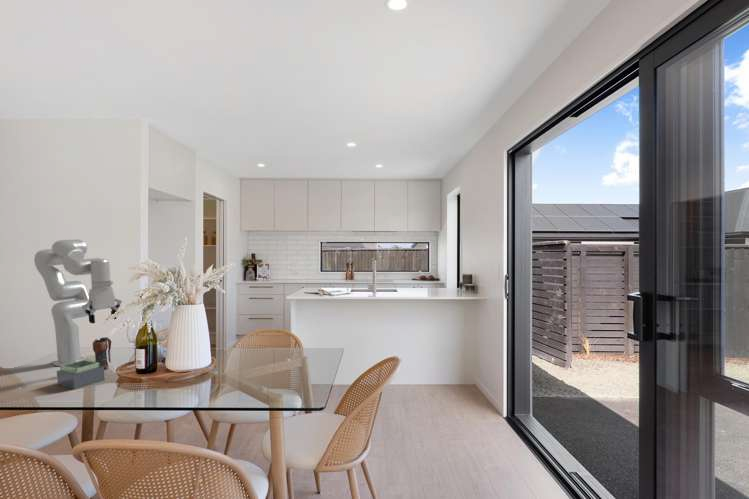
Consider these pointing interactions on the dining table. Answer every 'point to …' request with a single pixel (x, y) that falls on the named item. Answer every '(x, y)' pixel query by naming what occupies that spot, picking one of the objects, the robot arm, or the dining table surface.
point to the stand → (80, 374)
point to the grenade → (102, 351)
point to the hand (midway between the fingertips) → (103, 320)
